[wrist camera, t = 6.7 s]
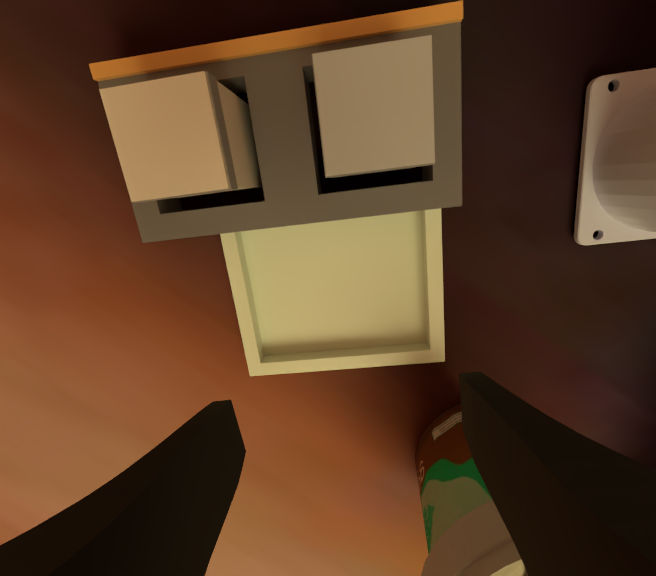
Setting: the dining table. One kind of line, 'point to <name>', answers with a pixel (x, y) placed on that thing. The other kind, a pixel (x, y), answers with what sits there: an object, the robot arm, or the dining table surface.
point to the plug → (182, 137)
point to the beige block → (376, 107)
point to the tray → (339, 293)
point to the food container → (460, 508)
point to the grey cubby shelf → (305, 122)
